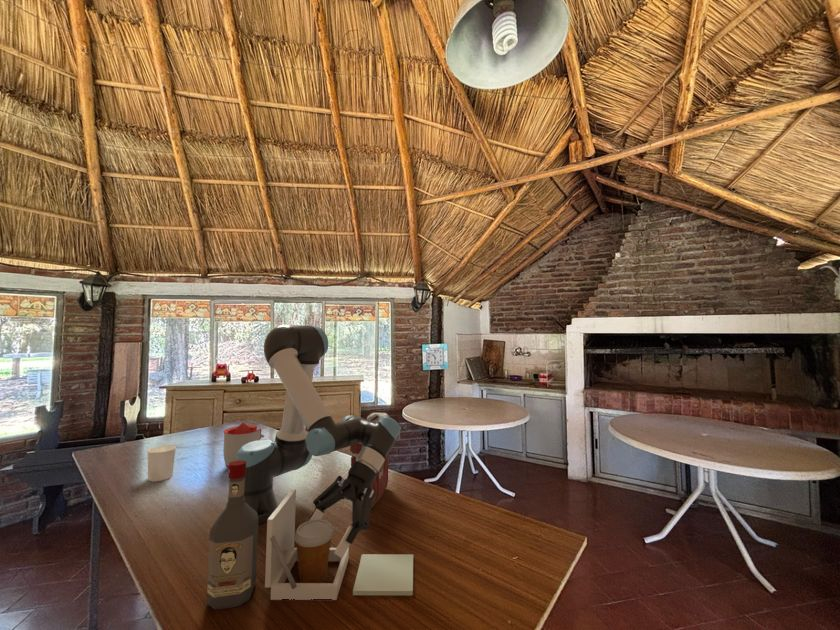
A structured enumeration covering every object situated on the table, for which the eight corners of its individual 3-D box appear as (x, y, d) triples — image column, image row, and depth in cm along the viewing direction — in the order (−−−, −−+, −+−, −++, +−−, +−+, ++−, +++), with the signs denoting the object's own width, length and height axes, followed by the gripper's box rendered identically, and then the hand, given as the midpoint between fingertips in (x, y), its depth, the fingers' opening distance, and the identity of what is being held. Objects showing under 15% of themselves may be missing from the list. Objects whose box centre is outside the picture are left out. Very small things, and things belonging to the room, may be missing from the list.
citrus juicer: (268, 466, 164) (270, 422, 166) (228, 476, 152) (230, 428, 154) (256, 457, 176) (258, 416, 177) (217, 466, 163) (219, 422, 165)
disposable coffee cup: (298, 566, 93) (299, 519, 94) (335, 564, 94) (336, 517, 95) (287, 592, 84) (289, 539, 84) (329, 590, 84) (330, 538, 85)
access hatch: (263, 602, 80) (266, 520, 81) (289, 557, 97) (291, 489, 98) (335, 602, 80) (337, 520, 82) (349, 558, 97) (350, 490, 98)
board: (352, 595, 83) (352, 590, 83) (361, 558, 97) (361, 554, 97) (412, 595, 83) (412, 590, 83) (413, 558, 97) (413, 554, 97)
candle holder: (140, 480, 147) (141, 450, 148) (164, 472, 156) (166, 444, 157) (155, 484, 143) (157, 453, 144) (179, 475, 152) (181, 446, 153)
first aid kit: (371, 514, 121) (373, 424, 123) (348, 511, 122) (350, 423, 124) (390, 486, 143) (391, 411, 145) (370, 484, 145) (372, 410, 147)
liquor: (216, 584, 86) (222, 457, 88) (257, 579, 88) (262, 455, 90) (203, 613, 77) (209, 471, 79) (248, 606, 79) (254, 468, 81)
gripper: (404, 485, 96) (362, 571, 84) (345, 464, 112) (301, 534, 99) (391, 470, 92) (344, 558, 80) (331, 451, 108) (284, 522, 95)
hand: (320, 545), depth 89 cm, fingers open, 13 cm apart
